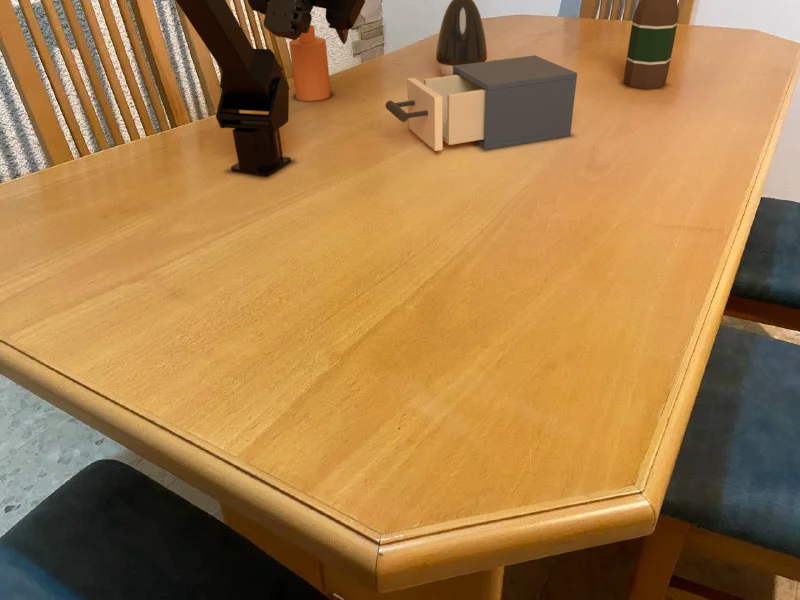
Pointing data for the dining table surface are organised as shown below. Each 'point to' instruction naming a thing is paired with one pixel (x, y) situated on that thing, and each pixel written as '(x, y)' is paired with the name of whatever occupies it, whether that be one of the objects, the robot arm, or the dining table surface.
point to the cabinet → (523, 99)
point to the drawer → (443, 110)
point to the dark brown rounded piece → (460, 37)
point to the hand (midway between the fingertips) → (321, 36)
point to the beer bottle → (651, 43)
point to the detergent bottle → (310, 67)
